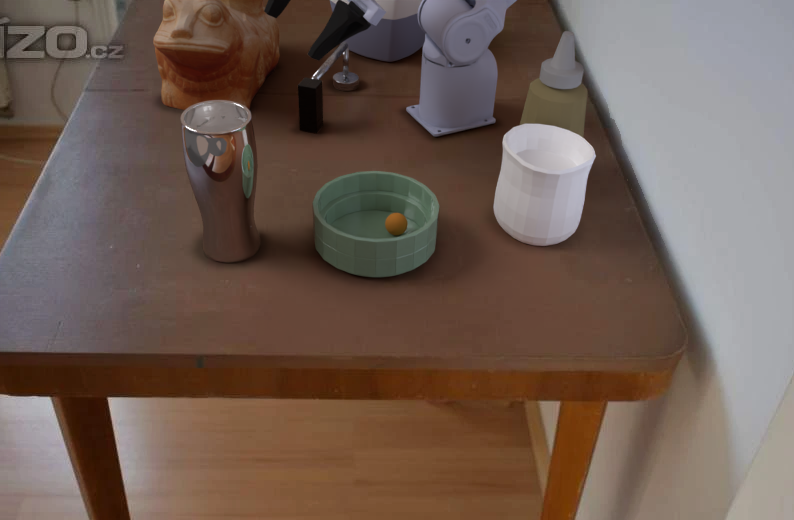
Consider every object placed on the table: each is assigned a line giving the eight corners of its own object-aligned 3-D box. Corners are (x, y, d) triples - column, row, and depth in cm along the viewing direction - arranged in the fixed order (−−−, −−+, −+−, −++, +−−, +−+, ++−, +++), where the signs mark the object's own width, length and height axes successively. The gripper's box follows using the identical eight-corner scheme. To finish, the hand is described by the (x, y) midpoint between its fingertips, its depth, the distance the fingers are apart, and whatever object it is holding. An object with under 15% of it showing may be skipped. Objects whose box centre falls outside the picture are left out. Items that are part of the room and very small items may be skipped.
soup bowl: (400, 199, 97) (402, 160, 93) (457, 261, 88) (462, 222, 85) (295, 226, 92) (293, 187, 88) (346, 294, 84) (346, 254, 80)
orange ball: (400, 224, 92) (401, 206, 90) (410, 236, 90) (412, 217, 89) (381, 230, 91) (381, 211, 89) (391, 241, 89) (391, 223, 88)
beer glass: (207, 271, 85) (187, 139, 75) (191, 234, 90) (170, 105, 80) (273, 257, 87) (262, 127, 77) (254, 221, 92) (242, 94, 82)
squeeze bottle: (536, 155, 105) (561, 12, 93) (589, 182, 101) (622, 35, 89) (494, 178, 101) (514, 30, 88) (548, 206, 97) (576, 56, 84)
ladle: (338, 77, 119) (337, 33, 114) (362, 82, 118) (362, 37, 114) (295, 129, 107) (292, 82, 103) (321, 134, 107) (320, 87, 102)
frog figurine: (136, 122, 107) (114, 4, 97) (204, 40, 126) (191, -66, 116) (242, 135, 106) (230, 16, 96) (293, 49, 125) (288, -57, 115)
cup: (560, 259, 89) (577, 180, 83) (475, 229, 93) (485, 151, 86) (590, 216, 96) (608, 139, 89) (510, 190, 99) (522, 114, 92)
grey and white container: (311, 47, 126) (309, -30, 118) (372, 16, 135) (373, -57, 128) (395, 76, 120) (398, -3, 112) (452, 42, 129) (459, -33, 122)
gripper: (302, -120, 90) (231, -13, 95) (394, -35, 87) (316, 71, 92) (332, -97, 96) (264, 2, 101) (418, -17, 93) (345, 81, 98)
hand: (291, 36), depth 97 cm, fingers open, 7 cm apart
